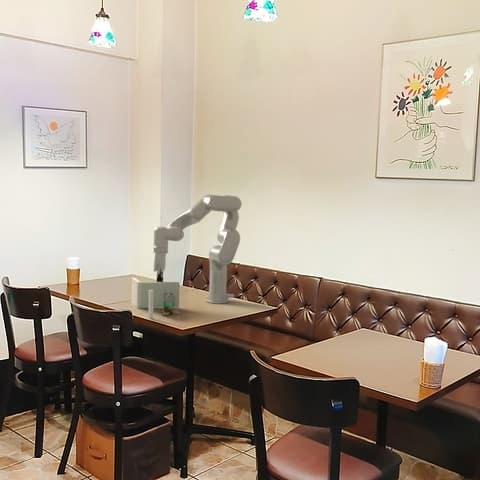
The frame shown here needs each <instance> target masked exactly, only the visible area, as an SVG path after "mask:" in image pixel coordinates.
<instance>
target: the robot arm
mask: <svg viewBox="0 0 480 480" xmlns="http://www.w3.org/2000/svg"><path fill="white" fill-rule="evenodd" d="M241 208H242V200H241V199H240V198H239V196H237V195H236V196H234V195H227V194H226V195H225V194H224V195H215V194H206V195H204V196H203V197H202V198H200V200H199V201H197V202H196V203H195V204H194V205H193V206H192V207H190V209H188V210H187V211H186V212H184V213H183V214H181V215H179V216H178V217H176V218H175V219H174V220H172V221H171V223H169V224H168V225H167V226H156V227H155V228H154V230H153V232H154V233H153V253H154V260H153V261H154V262H153V272H155V273H156V282H164V271H165V270H166V266H167V265H166V261H167V256H166V255H167V254H168V252H169V241H171V242H180V241H181V240H183V239H184V237H185V232H184V231H183V230H185V229H186V228H187V227H190V226H193V225H196V224H197V223H200V222H202V220H203V219H205V217H206V216H208V214H210V213H211V212H212V211H213V212H223V218H222V222H221V224H220V228H219V230H218V232H217V236H216V237H217V241H218V242H219V243H221V245H219V244H218V245H214V246H212V247H211V248H210V250H209V252H208V261H209V285H208V286H209V289H208V291H209V292H208V293H209V294H208V295H209V297H208V298H206V300H205V301H206V302H207V303H210V304H217V305H218V304H226V303H229V301H230V299H231V298H235V294H234V293H227V274H228V273H227V272H228V267H227V266H228V265H230V264H231V263H232V262H233V261H234V260H235V257H236V254H237V251H238V248H239V246H240V245H239V244H240V242H241V235H240V232H239V231H238V230H237V228H238V223H239V218H240V216H239V210H240V209H241Z"/></svg>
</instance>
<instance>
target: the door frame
mask: <svg viewBox="0 0 480 480" xmlns="http://www.w3.org/2000/svg"><path fill="white" fill-rule="evenodd" d="M141 282H142V281H140V280H139V279H137V278H136V277H131V304H132V305H133V306H134V307H135V306H136V307H137V308H136V307H135V308H136V309H142V308H141ZM147 313H148V315H147V316H148V319H149V320H153V319H154V308H153V290H149V308H148V312H147Z"/></svg>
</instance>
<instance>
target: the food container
mask: <svg viewBox="0 0 480 480" xmlns="http://www.w3.org/2000/svg"><path fill="white" fill-rule="evenodd" d="M175 299H176V296H175V294H174V293H169V292H164V298H163V317H169V316H173V315H174V314H175V313H174V312H175V308H174V302H175Z"/></svg>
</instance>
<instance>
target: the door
mask: <svg viewBox="0 0 480 480" xmlns="http://www.w3.org/2000/svg"><path fill="white" fill-rule="evenodd" d="M140 282H141V308H140V309H149V290H153V309H154V308H155V309H157V308H158V309H160V308H161V309H162V308H163V298H164V292H169V293H174V294H175V296H176V299H175V302H174V309H176V308H180V281H163V282H157V281H140Z"/></svg>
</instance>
